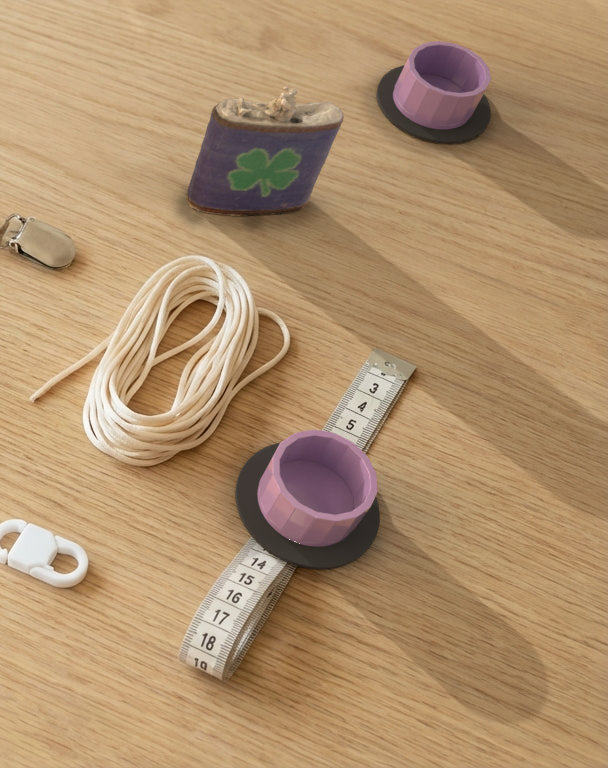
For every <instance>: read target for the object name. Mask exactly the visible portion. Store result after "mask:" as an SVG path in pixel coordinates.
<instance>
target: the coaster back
mask: <svg viewBox="0 0 608 768" xmlns="http://www.w3.org/2000/svg"><path fill="white" fill-rule="evenodd" d="M404 66H405V64H403V65H400V66H397V67H394V68H392V69H391V70H389V71H388V72H386V73H385V74H384V75H383V76H382V78H381V79H380V80H379V82H378V84H377V87H376V93H375V94H376V101H377V104H378V107H379V109H380V111H381V112H382V114H383V115H384V117H385V118H386V119H387V120H388V121H389V122H390V123H391V124H392V125H394V127H396V128H397V129H398V130H400V131H401V132H404V133H405V134H407V135H409V136H411V137H413V138H415V139H418V140H421V141H424V142H428V143H434V144H441V145H457V144H462V143H466V142H470V141H472V140H474V139H476V138H478V137H479V136H481V135H482V133H484V132H485V130H486V129H487V127H488V125H489V124H490V120H491V117H492V114H491V111H492V110H491V106H490V102H489V101H488V99H487V97H486V95H485V93H484V94H483V96H482V98H481V100H480V102H479V103H478V105H477V107H476V109H475V111H474V112H473V114H472V116H471V117H470V119H469V120H468V121H467V122H466V123H465V124H463V125H462V126H460V127H457V128H454V129H447V130H440V129H432V128H428V127H424V126H422V125H419V124H417V123H415V122H413V121H411V120H410V119H408V118H407V117H406V116H405V115H403V114H402V113H401V112H400V111H399V109H398V108H397V106H396V104H395V102H394V99H393V90H394V88H395V85H396V83H397V80H398V78H399V76H400V74H401V72H402V70H403V68H404Z"/></svg>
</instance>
